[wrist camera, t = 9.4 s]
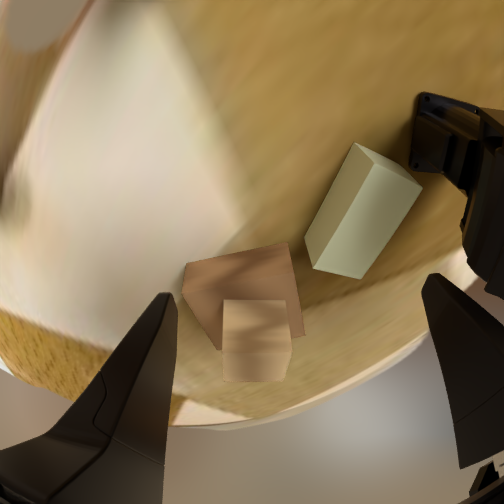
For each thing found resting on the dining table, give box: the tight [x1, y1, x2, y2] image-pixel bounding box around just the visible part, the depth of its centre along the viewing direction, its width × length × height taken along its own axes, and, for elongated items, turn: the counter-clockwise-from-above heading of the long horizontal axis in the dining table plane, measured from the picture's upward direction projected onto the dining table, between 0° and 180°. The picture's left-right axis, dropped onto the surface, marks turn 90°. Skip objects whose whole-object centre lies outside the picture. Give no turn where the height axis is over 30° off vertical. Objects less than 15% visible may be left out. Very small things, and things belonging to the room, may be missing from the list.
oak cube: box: [222, 300, 293, 382], centre depth 23 cm, size 5×5×5 cm
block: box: [304, 142, 423, 280], centre depth 21 cm, size 4×9×4 cm, turn 161°
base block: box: [181, 242, 306, 350], centre depth 27 cm, size 9×9×4 cm
